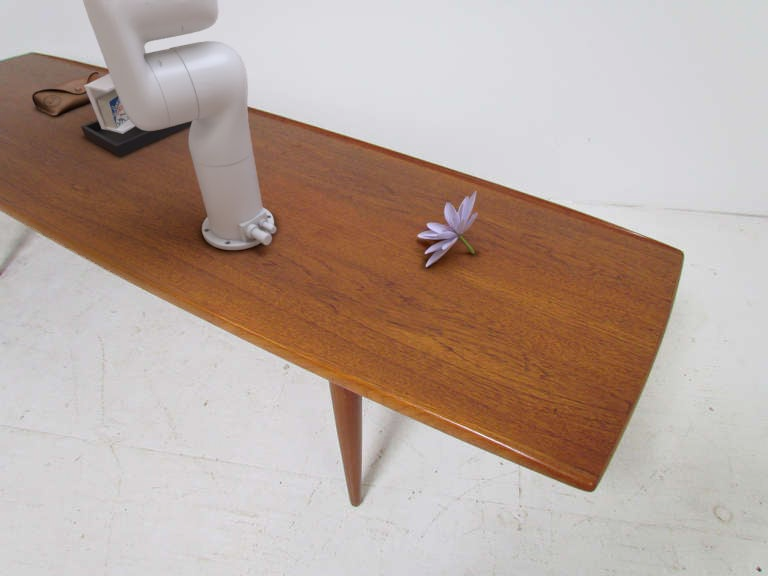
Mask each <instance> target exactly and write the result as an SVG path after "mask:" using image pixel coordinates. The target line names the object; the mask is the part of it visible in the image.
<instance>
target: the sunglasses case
mask: <svg viewBox="0 0 768 576" xmlns="http://www.w3.org/2000/svg"><path fill="white" fill-rule="evenodd" d="M101 77H102V75H100V73H99V72H98V71H94V72H91V73H89V74H88V75H85V76H82V77H78V78H75V79H72V80H69V81H66V82H63V83H60V84H58V85H54V86H51V87H49V88H43V89H40V90H36V91H34V93H32V95H31V100H32V103H33V104H34V106H35V108H36V109H37V110H38V111H40V112H43V113H45V114H47V115H50V116H53V117H55V116H56V117H57V116H59V115H61V114H63V113H65V112H68V111H70V110H73V109H76V108H79V107H82V106H85V105H88V104H91V101H90V99H89V96H88V94H87V92H86V89H85V87H84V85H87V84H89V83H91V82H93V81H95V80H97V79H99V78H101Z"/></svg>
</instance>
